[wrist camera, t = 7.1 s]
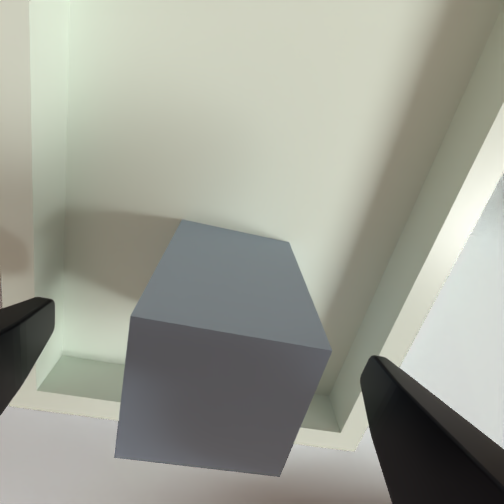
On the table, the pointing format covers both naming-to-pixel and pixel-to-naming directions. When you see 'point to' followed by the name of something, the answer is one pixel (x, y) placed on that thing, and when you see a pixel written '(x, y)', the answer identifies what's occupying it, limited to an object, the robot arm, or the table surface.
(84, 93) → the tray
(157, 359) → the slate block
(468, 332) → the table surface
